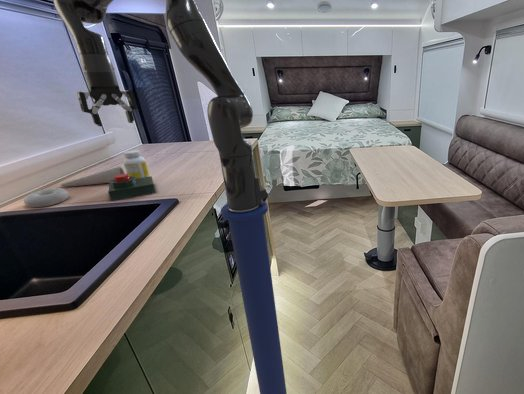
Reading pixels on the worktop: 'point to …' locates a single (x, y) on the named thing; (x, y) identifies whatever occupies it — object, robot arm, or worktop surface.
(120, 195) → the control block
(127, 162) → the pill bottle
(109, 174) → the long tapered cone
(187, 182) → the worktop surface
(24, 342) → the worktop surface
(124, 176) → the button
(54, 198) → the donut
